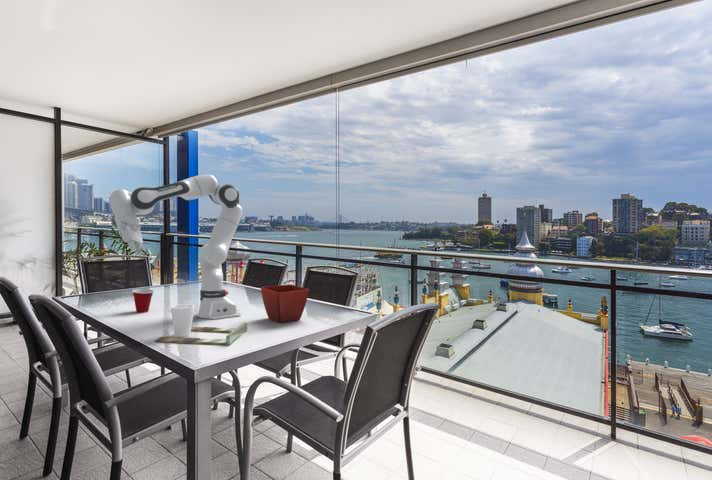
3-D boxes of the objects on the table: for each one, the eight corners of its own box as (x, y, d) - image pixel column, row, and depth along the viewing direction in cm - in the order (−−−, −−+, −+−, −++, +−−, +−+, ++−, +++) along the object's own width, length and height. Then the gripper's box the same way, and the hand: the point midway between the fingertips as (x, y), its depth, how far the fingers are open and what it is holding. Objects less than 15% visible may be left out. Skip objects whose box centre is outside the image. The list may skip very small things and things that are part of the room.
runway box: (154, 342, 156) (155, 332, 155) (181, 328, 178) (181, 319, 177) (229, 345, 155) (230, 335, 154) (247, 330, 177) (247, 322, 176)
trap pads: (181, 341, 155) (181, 340, 155) (204, 327, 177) (204, 326, 177) (195, 341, 155) (195, 341, 155) (216, 327, 177) (216, 327, 177)
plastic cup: (147, 314, 202) (147, 292, 202) (127, 313, 202) (127, 291, 202) (157, 309, 213) (158, 288, 212) (139, 309, 213) (139, 288, 213)
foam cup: (175, 332, 171) (176, 303, 170) (196, 332, 171) (197, 304, 171) (166, 338, 161) (167, 308, 161) (189, 338, 162) (189, 308, 162)
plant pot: (277, 325, 188) (277, 292, 187) (259, 318, 202) (260, 286, 201) (308, 320, 200) (309, 289, 200) (290, 313, 215) (290, 284, 214)
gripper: (128, 218, 166) (138, 248, 166) (141, 225, 186) (149, 252, 185) (112, 222, 164) (122, 252, 164) (127, 229, 184) (135, 256, 183)
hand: (136, 252), depth 175 cm, fingers open, 8 cm apart
